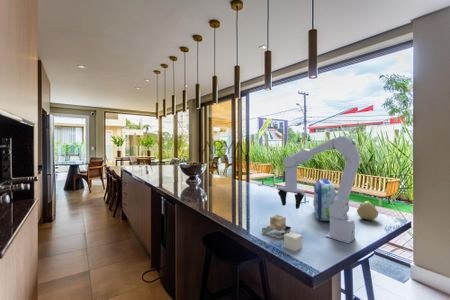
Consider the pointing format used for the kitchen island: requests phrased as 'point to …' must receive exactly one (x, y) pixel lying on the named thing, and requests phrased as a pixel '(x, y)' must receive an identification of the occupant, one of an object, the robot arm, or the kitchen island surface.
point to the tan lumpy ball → (367, 211)
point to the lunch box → (323, 198)
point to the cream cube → (293, 241)
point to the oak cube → (278, 222)
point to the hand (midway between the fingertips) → (290, 206)
